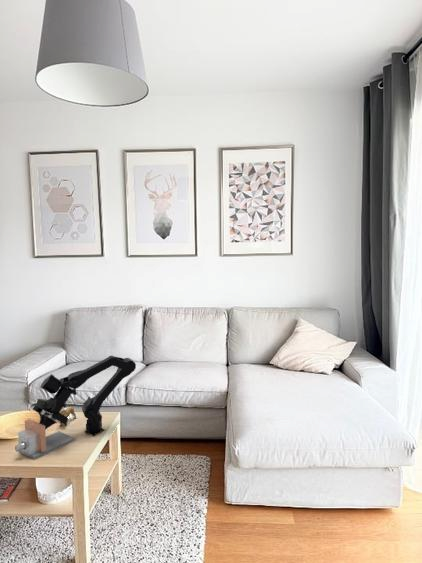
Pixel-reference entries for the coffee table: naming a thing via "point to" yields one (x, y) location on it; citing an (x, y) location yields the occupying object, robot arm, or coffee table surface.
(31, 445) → the bearing block
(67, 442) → the base board
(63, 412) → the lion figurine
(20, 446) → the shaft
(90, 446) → the coffee table surface
